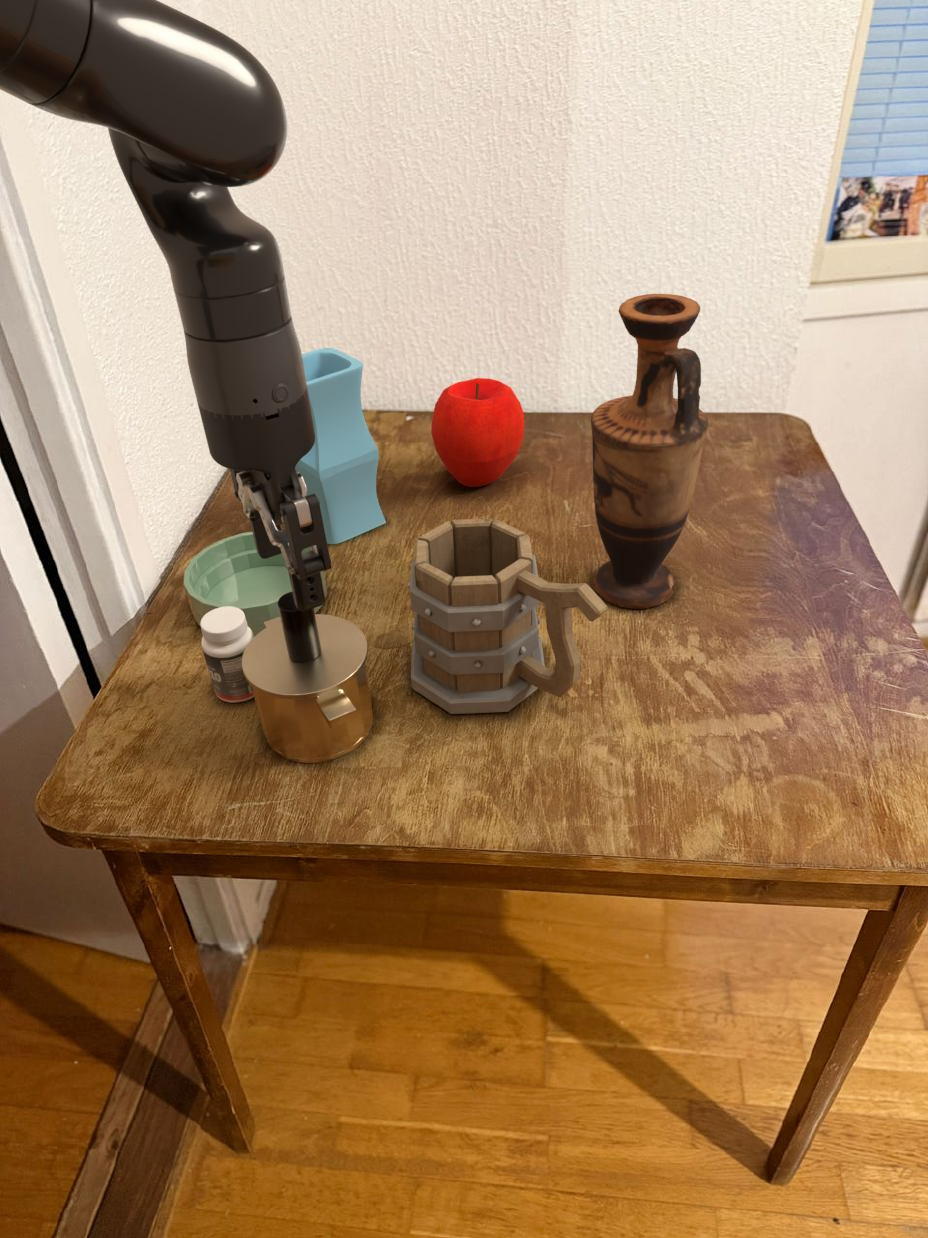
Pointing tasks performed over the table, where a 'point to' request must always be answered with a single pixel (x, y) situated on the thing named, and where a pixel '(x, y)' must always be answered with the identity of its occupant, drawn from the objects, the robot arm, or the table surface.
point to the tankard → (489, 619)
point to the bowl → (238, 581)
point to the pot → (317, 720)
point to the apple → (477, 430)
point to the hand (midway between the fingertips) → (290, 579)
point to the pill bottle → (226, 652)
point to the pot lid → (304, 653)
